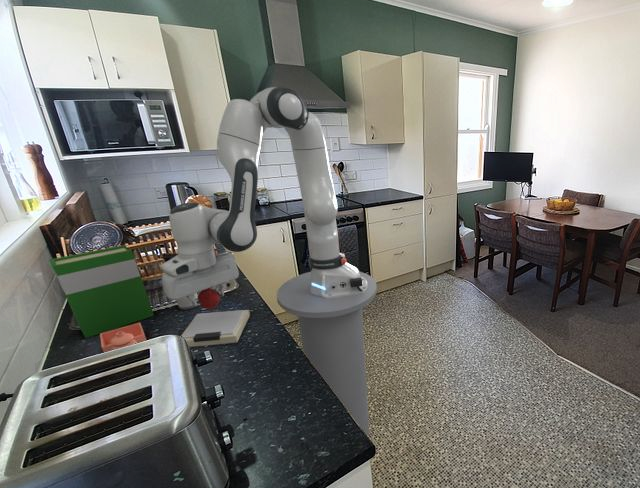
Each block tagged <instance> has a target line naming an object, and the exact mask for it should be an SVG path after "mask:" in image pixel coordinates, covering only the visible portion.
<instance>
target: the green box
mask: <svg viewBox="0 0 640 488" xmlns="http://www.w3.org/2000/svg"><path fill="white" fill-rule="evenodd" d="M48 260H49V263H50V265H51V268H52V269H53V272H54V274H55V276H56V279H57V281H58V283H59V285H60V287H61V289H62V290H63V293H64V296H65V298H66V300H67V302H68V306H69V307H70V309H71V312H72V313H73V315H74V318H75V319H76V322H77V324H78V326H79V328H80V331H81V333H82V335H83V336H84V338H85V339H87V338H90V337H93V336H96V335H100V334H101V333H104V332H108V331H111V330H115V329H118V328H122V327H125V326H128V325H131V324H134V323H137V322H140V321H142V320H144V319H145V320H146V319H148V318H151V317H154V316H155V313H154V310H153V309H152V304H151V301H150V300H149V297H148V293H147V291H146V287H145V285H144V282H143V279H142V276H141V274H140V270H139V268H138V265H137V262H136V258H135V255H134V253H133V250H132V249H128V248H127V245H126V244H123V245H122V244H121V245H117V246H112V247H107V248H102V249H97V250H91V251H86V252H81V253H77V254H76V253H75V254H71V255H65V256H61V257H56V258H51V259H48Z"/></svg>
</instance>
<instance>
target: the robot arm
mask: <svg viewBox="0 0 640 488" xmlns="http://www.w3.org/2000/svg"><path fill="white" fill-rule="evenodd" d="M268 128H274V129H284V130H285V131H286V132H287V135H288V137H289V139H290V146H291V151H292V155H293V160H294V165H295V170H296V175H297V181H298V185H299V190H300V195H301V200H302V205H303V213H304V220H305V229H306V236H307V245H308V252H309V255H308V266H309V270H310V272H311V284H310V289H309V290H310V292H311V293H312V294H314V295H317V296H321V297H322V298H324V299H331V298H337V297H343V296H349V295H355V294H361V293H364V292H365V291H366V290H367V281H366V279H365V278H363V277H361V275H360V272H361V271H360V270H359V269H358V268H357V267H356V266H354V265H352V264H350V263H348V262H347V261H348V260H347V258H346V255H345V252H342V253H341V252H340V241H339V240H340V239H339V231H338V226H337V225H338V224H337V220H336V219H337V218H336V217H337V215H338V209H339V208H338V202H337V198H336V192H335V187H334V182H333V178H332V173H331V167H330V162H329V161H330V160H329V156H328V154H329V153H328V150H327V149H328V148H327V143H326V139H325V135H324V130H323V127H322V125H321V122H320V119H319V118H318V116H317V115H316V114H314V113H313V112H311V111H309V110H308V107H306V104H305V102H304V100H303V98H302V97H301V95H300V94H299V93H298V92H297V91H296V90H295V89H292V88H290V87H287V86H271V87H267V88H265V89H263V90H259V91H257V92H255V93H254V94H253V95H251V97H250V98H249V99H248V100H247V99H242V98H233V99H231V100H230V101H228V103H227V104H226V105H225V109H224V112H223V114H222V116H221V120H220V124H219V128H218V133H217V137H216V138H217V139H216V156H217V159H218V160H219V162H220V164H221V165H222V166H223V167H224V168H225V170H226V172H227V173H228V175H229V178H230V181H231V191H230V199H229V210H226V209H219V208H212V207H208V206H205V205H203V204H201V203H199V202H195V201H193V202H191V201H190V202H185V203H180V204H178V205H176V206H174V207H172V209H171V210H170V211H169V214H168V215H169V216H168V217H169V225H170V230H171V234H172V236H173V240H174V241H175V243H176V246H177V247H176V248H177V249H176V251H177V254H178V255H177V256H175V257H174V258H172V259H170V260H169V261H167V262H165V261H164V263H162V264H161V265H160V269H161V271H162V272H163V274H162V275H161V285H162V289H163V293H164V296H165V297H166V298H168V299H169V300H173V301H177V299H179V298H182V297H185V296H186V297H187V298H189V299H190V300H191V301H192V304H193V306H195V307H194V308H196V307H198V306H200V300H199V299H197V298H196V299H194V298H192V297H194V293H200V292H201V291H202V290H205V289H208V288H210V289H212V288H213V287H216V286H218V289H217V290H215V291H216V292H217V293H218V294H219V296H220V298H221V297H224V296H225V292H224V291H225V289H226V287H227V284H226V283H228V282H230V281H233V280H236V279H238V278H239V275H240V272H239V269H238V266H237V262H236V255H235V254H234V253H241V252H244V251H247V250H249V249H251V247H252V246H254V244H255V243H256V241H257V239H258V238H257V237H258V230H257V229H258V228H257V225H256V220H255V219H256V218H255V214H256V213H255V212H256V202H257V193H258V181H259V160H260V158H259V157H260V152H261V146H262V140H263V136H264V133H265V131H266V130H267V129H268ZM218 243H219V244H220V245H221V246H222V247H223V248H225V249H226V251H223V252H219V253H216V252H215V249H214V248H215V247H214V245H215V244H218Z"/></svg>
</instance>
